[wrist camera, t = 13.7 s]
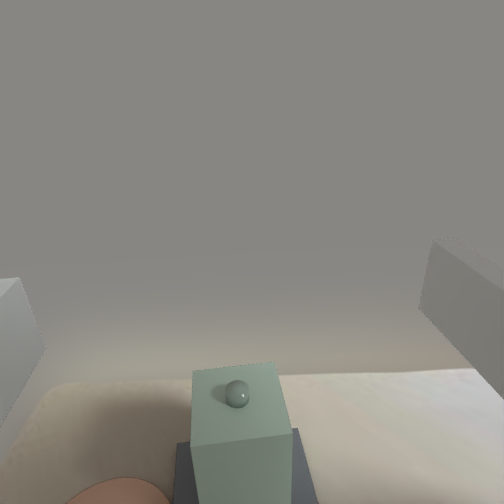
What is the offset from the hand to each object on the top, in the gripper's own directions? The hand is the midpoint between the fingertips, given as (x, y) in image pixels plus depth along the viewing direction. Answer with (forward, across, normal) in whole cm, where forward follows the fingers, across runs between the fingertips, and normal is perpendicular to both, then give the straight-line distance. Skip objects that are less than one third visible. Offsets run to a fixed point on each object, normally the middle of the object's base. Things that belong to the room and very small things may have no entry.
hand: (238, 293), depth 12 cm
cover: (+13, 0, -31) cm, 33 cm away
